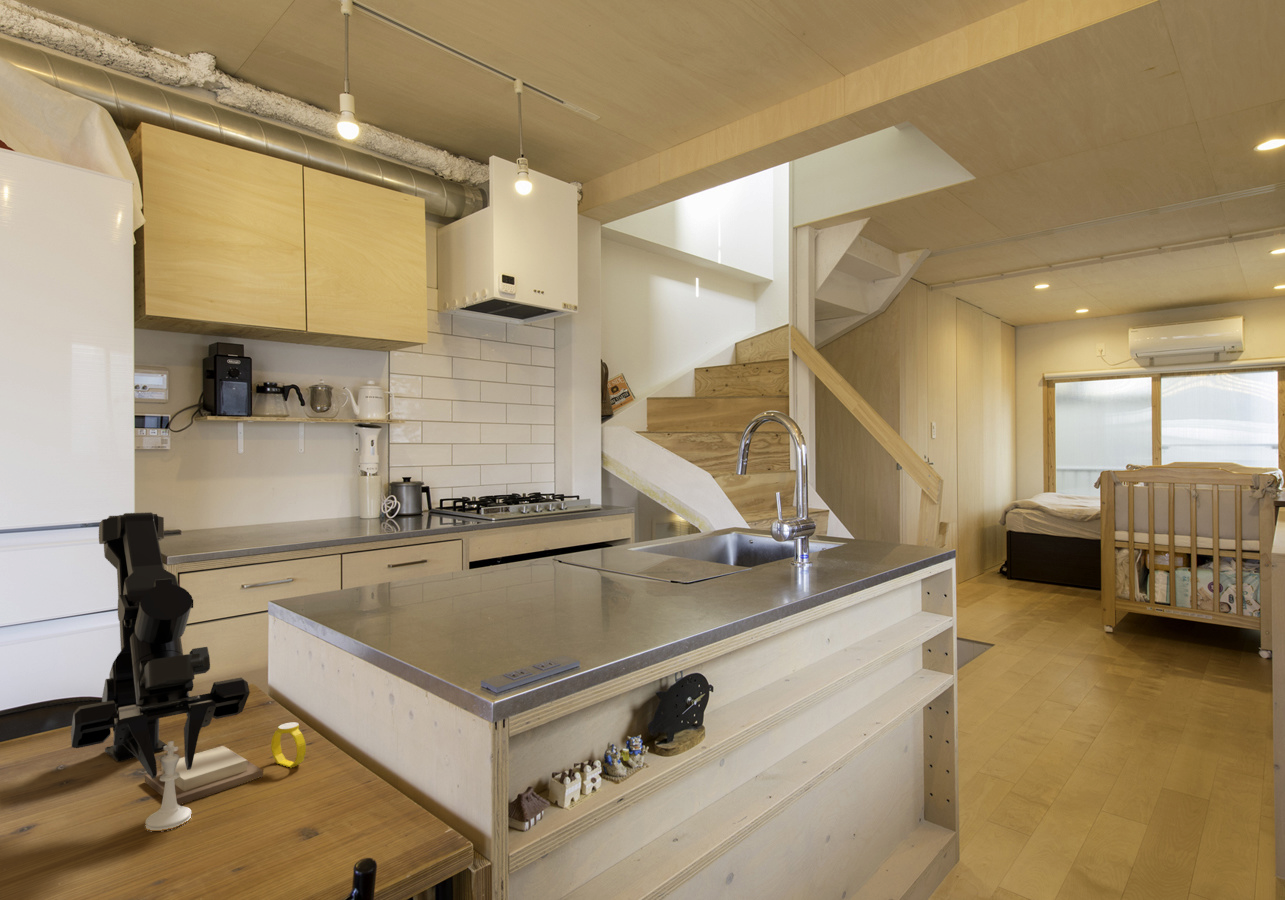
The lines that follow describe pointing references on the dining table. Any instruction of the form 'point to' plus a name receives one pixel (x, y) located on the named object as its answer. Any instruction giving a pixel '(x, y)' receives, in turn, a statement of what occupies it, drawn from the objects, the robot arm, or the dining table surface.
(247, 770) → the build base
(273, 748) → the watch
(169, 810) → the chess piece
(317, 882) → the dining table surface
